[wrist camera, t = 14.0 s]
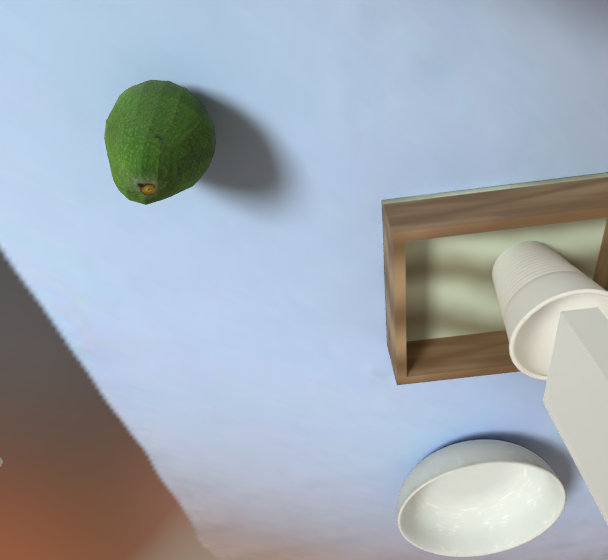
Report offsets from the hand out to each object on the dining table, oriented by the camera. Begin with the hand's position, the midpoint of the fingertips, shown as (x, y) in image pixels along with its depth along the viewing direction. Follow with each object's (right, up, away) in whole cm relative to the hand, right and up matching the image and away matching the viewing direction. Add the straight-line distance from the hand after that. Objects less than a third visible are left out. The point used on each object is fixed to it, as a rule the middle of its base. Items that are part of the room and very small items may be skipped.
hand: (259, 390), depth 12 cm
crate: (+20, +4, +43) cm, 48 cm away
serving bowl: (+23, -23, +62) cm, 70 cm away
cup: (+23, +4, +42) cm, 48 cm away
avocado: (-10, +16, +33) cm, 38 cm away
